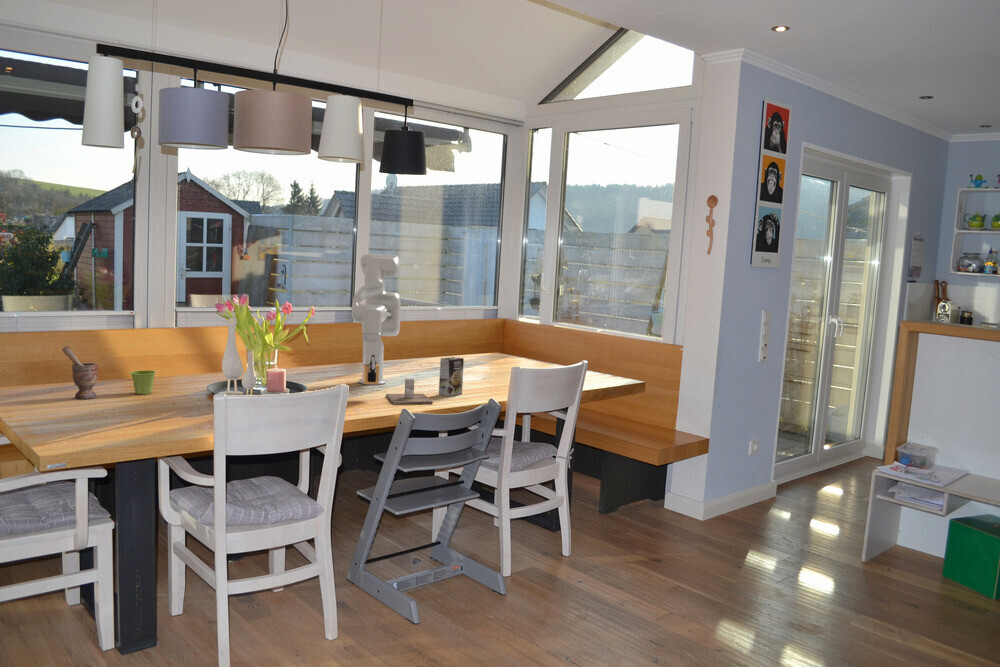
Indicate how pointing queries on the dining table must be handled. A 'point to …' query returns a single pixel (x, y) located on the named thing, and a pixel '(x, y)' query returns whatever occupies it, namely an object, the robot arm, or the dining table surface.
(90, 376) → the mortar and pestle
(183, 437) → the dining table surface
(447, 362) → the coffee box
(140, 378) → the plant pot
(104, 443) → the dining table surface
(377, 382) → the light brown block
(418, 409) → the dining table surface
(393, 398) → the post board
